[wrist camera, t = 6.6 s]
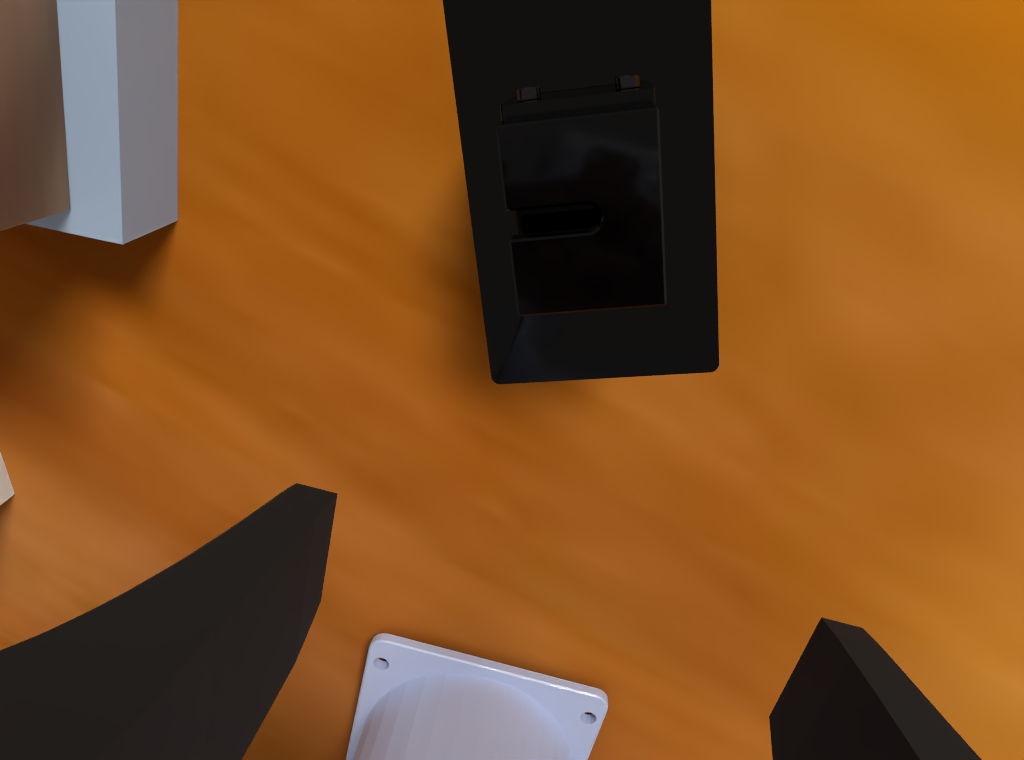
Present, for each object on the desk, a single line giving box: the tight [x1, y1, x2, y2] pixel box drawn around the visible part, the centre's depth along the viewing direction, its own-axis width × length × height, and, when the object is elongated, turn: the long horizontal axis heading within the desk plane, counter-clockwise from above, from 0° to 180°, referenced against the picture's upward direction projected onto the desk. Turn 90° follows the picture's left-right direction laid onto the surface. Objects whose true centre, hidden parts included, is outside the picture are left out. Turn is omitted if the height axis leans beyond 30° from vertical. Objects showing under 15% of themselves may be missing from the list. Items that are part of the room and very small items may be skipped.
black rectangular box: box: [443, 0, 719, 384], centre depth 17 cm, size 13×8×5 cm, turn 7°
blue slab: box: [25, 0, 178, 245], centre depth 18 cm, size 7×7×3 cm
